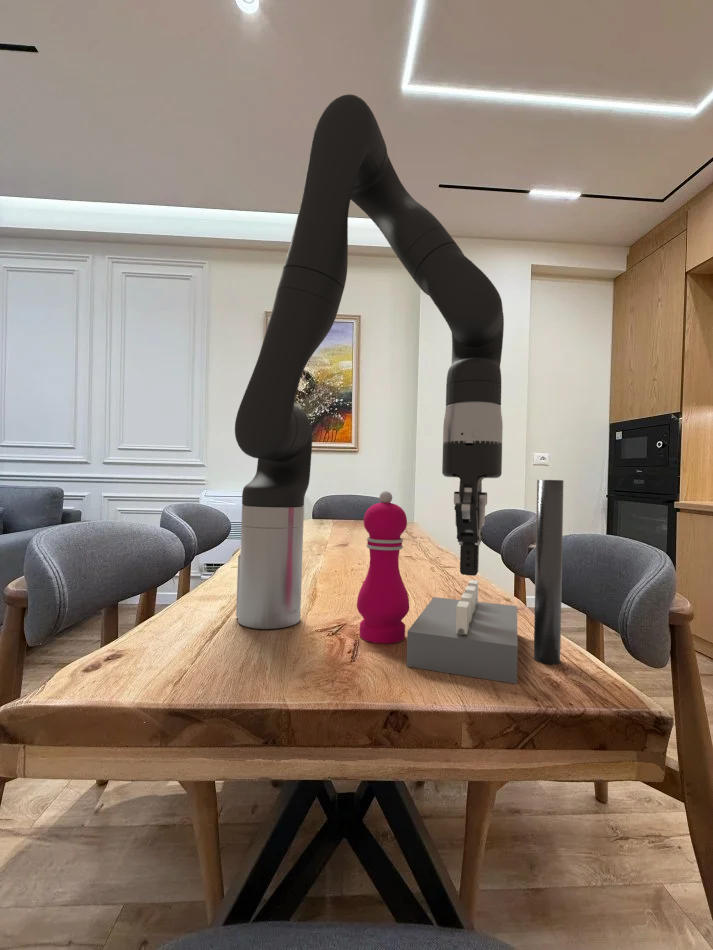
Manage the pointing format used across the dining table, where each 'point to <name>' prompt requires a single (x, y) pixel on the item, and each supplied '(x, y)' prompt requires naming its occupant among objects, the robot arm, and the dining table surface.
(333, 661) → the dining table surface
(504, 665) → the breaker panel
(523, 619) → the dining table surface
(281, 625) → the robot arm
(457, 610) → the breaker paddles
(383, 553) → the pepper mill
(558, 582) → the black cord post
